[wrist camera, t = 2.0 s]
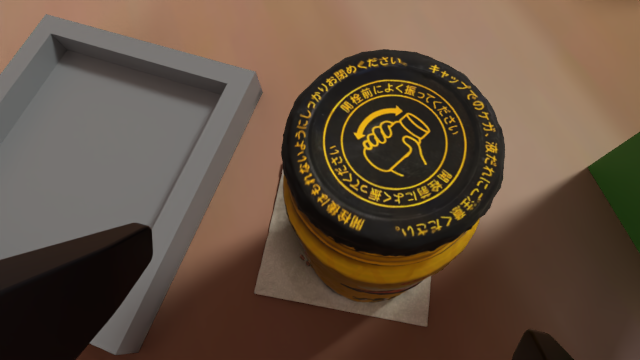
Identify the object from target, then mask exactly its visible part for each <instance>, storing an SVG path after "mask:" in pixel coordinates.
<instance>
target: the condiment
mask: <svg viewBox="0 0 640 360" xmlns="http://www.w3.org/2000/svg"><path fill="white" fill-rule="evenodd" d="M281 155H282V160H283V170H282V176H281V180H280V184H279V189H278V193H277V198H276V202H275V207H274V212H273V216H272V220H271V224H270V228H269V235H268V237H267V241H266V245H265V249H264V253H263V258H262V262H261V267H260V270H259V274H258V278H257V282H256V287H255V291H254V294H259V295H265V296H270V297H275V298H280V299H285V300H291V301H296V302H302V303H306V304H311V305H317V306H322V307H327V308H332V309H337V310H342V311H347V312H352V313H358V314H363V315H368V316H373V317H378V318H383V319H389V320H394V321H399V322H404V323H409V324H415V325H420V326H425V327H427V323H428V311H429V297H430V284H431V276H432V275H434V274H436V273H438V272H439V271H441V270H443V269H444V267H445V266H447V265H448V264H449V263H450V262H451V261H452V260H453V259H454V258H456V256H457V255H458V254H460V253H461V252H462V251H463V250H464V248H465V247H466V245H467V244H468V242H469V241H470V239H471V237H472V236H473V234H474V233H475V230H476V228H477V226H478V224H479V220H480V217H482V216H483V215H485V214H486V212H487V211H488V209H489V208H490V206H491V203H492V201H493V198H494V197H495V195H496V194H497V192H498V191H499V189H500V188H501V183H502V180H503V169H504V158H505V144H504V137H503V133H502V128H501V127H500V125H499V124H498V122H497V118H496V115H495V112H494V110H493V108H492V106H491V105H490V103H489V102H488V100H487V99H486V98H485V97H484V96H483V95H482V94H481V92H480V91H479V90H478V89H477V87H476V86H474V85H473V84H472V83H471V82H470V80H469V79H468V77H467V76H465V75H464V74H463V73H461V72H459V71H457V70H455V69H454V68H452V67H450V66H449V65H446V64H444V63H442V62H439V61H437V60H435V59H433V58H431V57H429V56H425V55H422V54H419V53H417V52H409V51H397V50H386V49H383V50H376V51H368V52H361V53H359V54H356V55H353V56H350V57H347V58H345V59H343V60H342V61H340V62H339V63H337V64H335V65H334V66H333V67H331V68H330V69H329V70H327V71H326V72H324V73H323V74H321V75H320V76H319V77H318V78H317V79H316V80H315V81H314V82H313V83H312V84H311V85H310V86H309V87H308V88H306V89H305V90H304V91H303V92H302V93H301V94H300V95H299V96H298V98H297V99H296V101H295V102H294V106H293V108H292V109H291V112H290V114H289V117H288V119H287V122H286V127H285V131H284V134H283V143H282V151H281ZM300 254H302V255H303V256H304V258H305V260H302V259H301V258H300ZM306 261H309V263H310V265H309V266H307V264H306Z"/></svg>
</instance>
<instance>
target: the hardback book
mask: <svg viewBox="0 0 640 360" xmlns="http://www.w3.org/2000/svg"><path fill="white" fill-rule="evenodd" d="M588 169H589V171H590V172H591V174H592V176H593V177H594V179H595V180H596V182H597V184H598V185H599V187H600V189H601V190H602V192H603V194H604V195H605V197H606V199H607V200H608V202H609V204H610V205H611V207H612V209H613V210H614V212H615V213H616V215H617V217H618V218H619V220H620V222H621V223H622V225H623V227H624V228H625V230H626V232H627V233H628V235H629V237H630V238H631V240H632V242H633V243H634V245H635V246H636V248H637V250H638V251H639V253H640V132H639V133H637V134H636V135H634V136H633V137H631V138H630V139H628V140H627V141H625V142H624V143H622V144H621V145H619V146H618V147H617V148H615V149H614V150H612V151H611V152H609V153H608V154H606V155H605V156H603V157H602V158H600V159H599V160H597V161H596V162H594V163H593V164H591V165H590V166H588Z"/></svg>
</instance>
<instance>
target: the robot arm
mask: <svg viewBox="0 0 640 360" xmlns="http://www.w3.org/2000/svg"><path fill="white" fill-rule="evenodd" d="M152 257H153V239H152V229H151V228H150V227H149V226H148V225H144V224H140V223H130V224H126V225H123V226H119V227H115V228H112V229H108V230H105V231H101V232H98V233H94V234H90V235H87V236H83V237H80V238H76V239H73V240H69V241H65V242H62V243H58V244H55V245H51V246H47V247H44V248H40V249H37V250H33V251H30V252H26V253H22V254H19V255H15V256H12V257H8V258H4V259H1V260H0V360H76V358H77V357H78V356H79V355H80V354H81V353H82V351H83V350H84V349H85V348H86V347H87V345H88V344H89V343H90V342H91V341H92V340H93V338H94V337H95V336H96V335H97V334H98V333H99V331H100V330H101V329H102V328H103V327H104V325H105V324H106V323H107V322H108V321H109V320H110V318H111V317H112V316H113V315H114V313H115V312H116V311H117V309H118V308H119V307H120V305H121V304H122V303H123V301H124V300H125V298H126V297H127V295H128V294H129V292H130V291H131V290H132V288H133V287H134V285H135V284H136V282H137V281H138V279H139V278H140V277H141V275H142V274H143V272H144V271H145V269H146V268H147V266H148V265H149V264H150V262H151V260H152ZM512 360H574V359H573V358H572V357H571V356H570V355H569V354H568V353H567V352H566V351H565V350H564V349H563V348H562V347H561V346H560V345H559V344H558V343H557V342H556V340H555V339H554V338H553V337H552V336H550V335H549V334H547V333H544V332H541V331H537V330H533V329H528V330H527V331H525V333H524V335H523V337H522V339H521V341H520V343H519V344H518V346H517V348H516V350H515V352H514V355H513V358H512Z"/></svg>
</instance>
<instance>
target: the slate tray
mask: <svg viewBox="0 0 640 360" xmlns="http://www.w3.org/2000/svg"><path fill="white" fill-rule="evenodd" d="M262 93H263V92H262V89H261V86H260V83H259V80H258V77H257V74H256V72H254V71H251V70H247V69H243V68H240V67H236V66H233V65H229V64H225V63H222V62H218V61H214V60H211V59H207V58H203V57H200V56H196V55H193V54H189V53H185V52H182V51H178V50H174V49H171V48H167V47H163V46H160V45H156V44H152V43H149V42H145V41H142V40H138V39H134V38H131V37H127V36H123V35H120V34H116V33H112V32H109V31H105V30H102V29H98V28H94V27H91V26H87V25H83V24H80V23H76V22H72V21H69V20H65V19H62V18H58V17H54V16H51V15H47V14H46V15H45V16H44V18H43V19H42V20H41V21H40V23H39V24H38V25H37V27H36V28H35V29H34V31H33V32H32V33H31V35H30V36H29V37H28V39H27V40H26V41H25V43H24V44H23V45H22V47H21V48H20V49H19V51H18V52H17V53H16V55H15V56H14V57H13V59H12V60H11V61H10V62H9V64H8V65H7V66H6V68H5V69H4V70H3V72H2V73H1V74H0V260H1V259H4V258H8V257H12V256H15V255H19V254H22V253H26V252H30V251H33V250H37V249H40V248H44V247H47V246H51V245H55V244H58V243H62V242H65V241H69V240H73V239H76V238H80V237H83V236H87V235H90V234H94V233H98V232H101V231H105V230H108V229H112V228H115V227H119V226H123V225H126V224H130V223H140V224H144V225H148V226H149V227H150V228H151V229H152V239H153V257H152V260H151V262H150V264H149V265H148V266H147V268H146V269H145V271H144V272H143V274H142V275H141V277H140V278H139V279H138V281H137V282H136V284H135V285H134V287H133V288H132V290H131V291H130V292H129V294H128V295H127V297H126V298H125V300H124V301H123V303H122V304H121V305H120V307H119V308H118V309H117V311H116V312H115V313H114V315H113V316H112V317H111V318H110V320H109V321H108V322H107V323H106V324H105V325H104V327H103V328H102V329H101V330H100V331H99V333H98V334H97V335H96V336H95V337H94V338H93V340H92V341H91V342H90V344H92V345H94V346H96V347H99V348H101V349H103V350H105V351H107V352H110V353H112V354H114V355H120V354H129V353H138V352H139V350H140V348H141V346H142V344H143V341H144V339H145V337H146V335H147V333H148V331H149V329H150V327H151V325H152V323H153V321H154V318H155V316H156V314H157V312H158V310H159V308H160V306H161V304H162V302H163V300H164V298H165V295H166V293H167V291H168V289H169V287H170V285H171V283H172V281H173V279H174V277H175V275H176V272H177V270H178V268H179V266H180V264H181V262H182V260H183V258H184V256H185V254H186V252H187V249H188V247H189V245H190V243H191V241H192V239H193V237H194V235H195V233H196V231H197V229H198V226H199V224H200V222H201V220H202V218H203V216H204V214H205V212H206V210H207V208H208V206H209V203H210V201H211V199H212V197H213V195H214V193H215V191H216V189H217V187H218V185H219V183H220V180H221V178H222V176H223V174H224V172H225V170H226V168H227V166H228V164H229V162H230V160H231V157H232V155H233V153H234V151H235V149H236V147H237V145H238V143H239V141H240V139H241V137H242V134H243V132H244V130H245V128H246V126H247V124H248V122H249V120H250V118H251V116H252V114H253V111H254V109H255V107H256V105H257V103H258V101H259V99H260V97H261V95H262Z"/></svg>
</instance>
